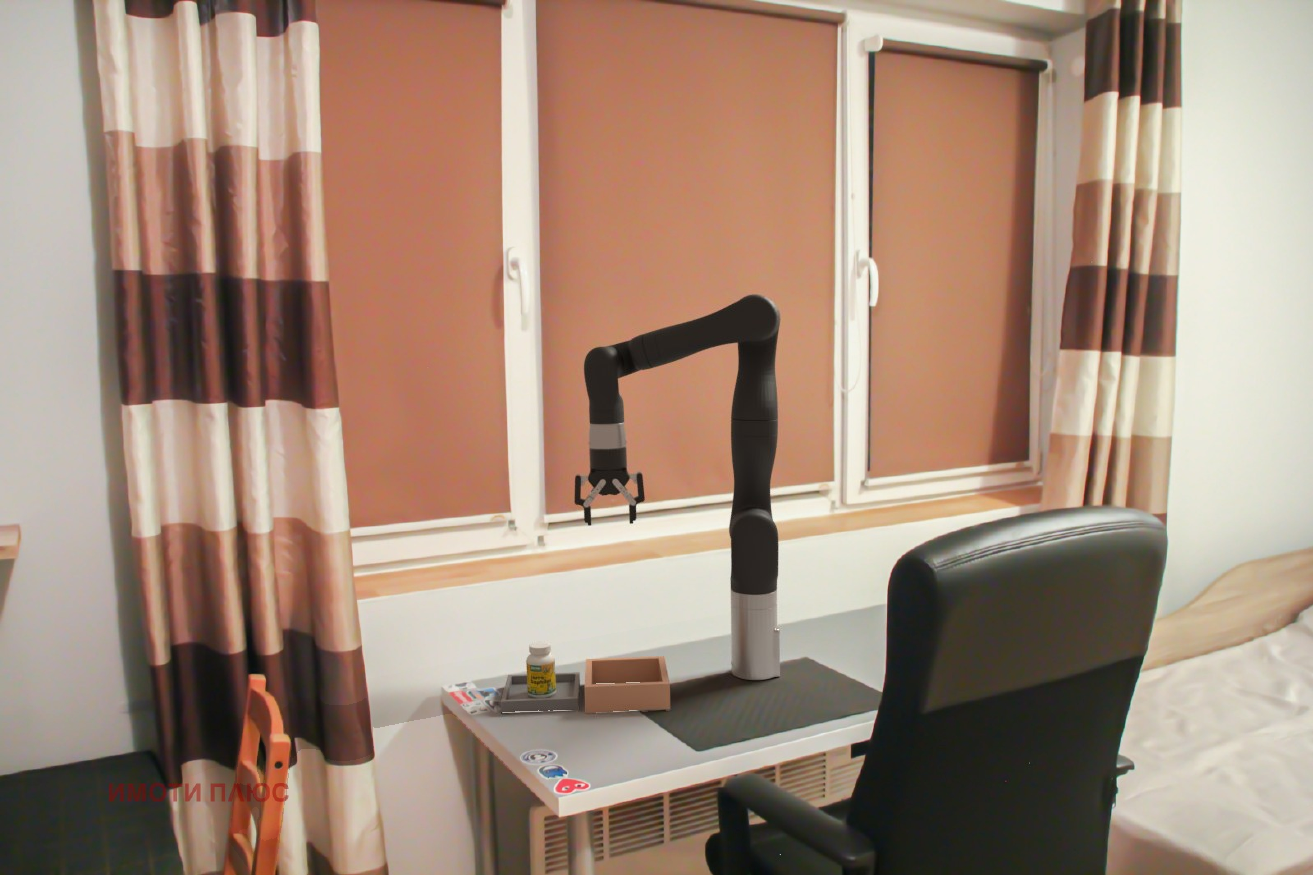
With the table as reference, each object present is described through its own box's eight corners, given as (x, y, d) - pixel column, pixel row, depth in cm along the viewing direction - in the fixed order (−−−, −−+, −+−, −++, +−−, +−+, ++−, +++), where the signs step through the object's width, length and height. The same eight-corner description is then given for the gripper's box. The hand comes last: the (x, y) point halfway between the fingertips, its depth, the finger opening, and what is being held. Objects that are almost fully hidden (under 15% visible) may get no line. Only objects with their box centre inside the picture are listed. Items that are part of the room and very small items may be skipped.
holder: (664, 680, 189) (664, 656, 188) (670, 710, 174) (669, 683, 173) (586, 683, 188) (585, 659, 188) (585, 713, 173) (584, 687, 172)
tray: (580, 683, 188) (579, 672, 188) (578, 710, 174) (578, 698, 174) (508, 686, 188) (508, 675, 187) (501, 713, 174) (500, 701, 173)
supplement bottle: (555, 688, 184) (554, 639, 183) (556, 698, 179) (554, 648, 178) (527, 689, 183) (526, 641, 182) (527, 700, 178) (525, 649, 177)
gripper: (641, 442, 198) (644, 519, 200) (572, 444, 197) (575, 522, 199) (643, 445, 191) (646, 526, 192) (572, 448, 190) (575, 529, 191)
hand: (610, 524), depth 195 cm, fingers open, 8 cm apart
